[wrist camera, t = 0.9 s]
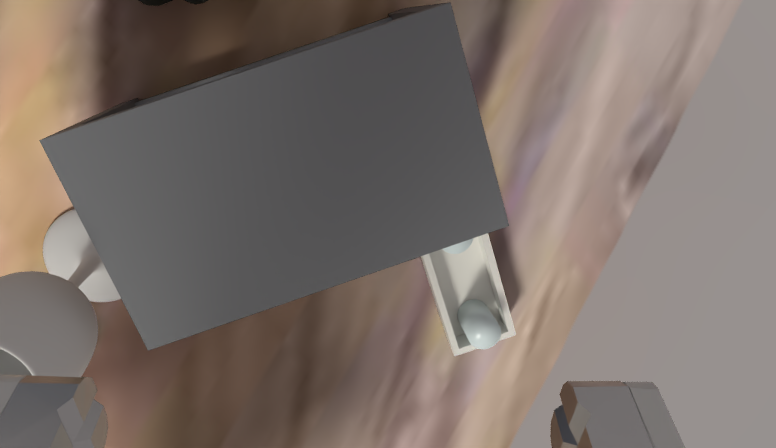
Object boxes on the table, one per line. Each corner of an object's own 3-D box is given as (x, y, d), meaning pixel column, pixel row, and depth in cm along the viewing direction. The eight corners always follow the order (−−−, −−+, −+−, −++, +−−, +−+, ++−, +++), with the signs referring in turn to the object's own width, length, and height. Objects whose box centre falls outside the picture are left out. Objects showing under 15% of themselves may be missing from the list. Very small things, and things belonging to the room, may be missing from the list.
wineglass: (111, 186, 51) (-10, 291, 31) (172, 270, 54) (97, 414, 34) (21, 237, 52) (-155, 372, 32) (86, 318, 54) (-37, 488, 35)
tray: (506, 320, 60) (522, 344, 55) (447, 340, 60) (459, 366, 55) (468, 185, 55) (483, 200, 51) (404, 207, 55) (413, 223, 51)
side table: (452, 169, 55) (509, 225, 39) (191, 258, 54) (148, 350, 39) (405, 8, 50) (450, 2, 35) (119, 103, 49) (39, 140, 34)
